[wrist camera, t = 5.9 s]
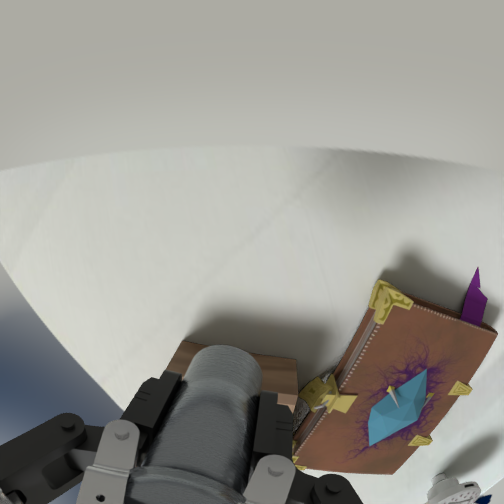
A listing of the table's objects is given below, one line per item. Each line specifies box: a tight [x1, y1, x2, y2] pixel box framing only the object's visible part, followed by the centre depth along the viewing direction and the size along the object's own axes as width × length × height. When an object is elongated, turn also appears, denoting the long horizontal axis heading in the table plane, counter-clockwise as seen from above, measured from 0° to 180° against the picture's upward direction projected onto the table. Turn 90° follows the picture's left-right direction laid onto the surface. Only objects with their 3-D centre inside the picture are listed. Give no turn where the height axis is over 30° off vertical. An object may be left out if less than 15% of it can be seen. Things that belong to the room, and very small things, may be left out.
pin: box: [125, 345, 263, 504], centre depth 10 cm, size 4×4×9 cm
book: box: [292, 268, 498, 475], centre depth 24 cm, size 16×25×5 cm, turn 161°
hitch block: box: [166, 341, 298, 413], centre depth 25 cm, size 12×10×5 cm
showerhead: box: [425, 473, 481, 504], centre depth 26 cm, size 9×7×10 cm
